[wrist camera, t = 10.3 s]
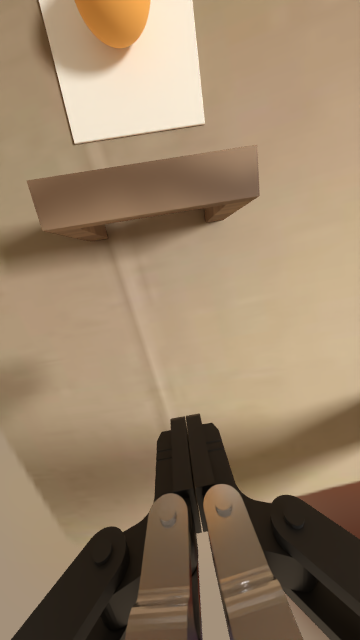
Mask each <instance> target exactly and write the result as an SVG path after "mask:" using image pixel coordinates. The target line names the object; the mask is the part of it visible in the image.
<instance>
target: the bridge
mask: <svg viewBox="0 0 360 640" xmlns="http://www.w3.org/2000/svg"><path fill="white" fill-rule="evenodd" d="M27 184H28V187H29V190H30V193H31V196H32V199H33V202H34V206H35V209H36V212H37V215H38V218H39V221H40V225H41V228H42V231H46V232H50V233H55V234H59V235H64V236H68V237H73V238H77V239H82V240H86V241H95V240H102V239H108V236H107V231H106V227H105V224H109V223H115V222H121V221H128V220H134V219H140V218H146V217H152V216H159V215H165V214H171V213H177V212H183V211H190V210H196V209H202V208H204V212H205V221H206V222H212V221H218V220H224V219H225V218H227V217H228V216H230V215H231V214H233V213H234V212H236V211H237V210H239V209H240V208H242V207H243V206H245V205H246V204H248V203H249V202H251V201H252V200H254V199H256V198H257V197H259V196H260V195H259V173H258V152H257V145H252V146H245V147H239V148H233V149H226V150H220V151H213V152H207V153H201V154H194V155H188V156H181V157H175V158H169V159H162V160H156V161H149V162H143V163H137V164H130V165H124V166H117V167H111V168H105V169H98V170H92V171H86V172H79V173H73V174H66V175H60V176H54V177H47V178H41V179H34V180H28V181H27Z"/></svg>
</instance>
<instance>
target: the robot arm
mask: <svg viewBox="0 0 360 640" xmlns="http://www.w3.org/2000/svg"><path fill="white" fill-rule="evenodd" d="M186 422H187V426H186ZM187 429H188V431H187ZM156 461H157V462H156V479H155V498H154V503H153V505H152V507H151V509H150V511H149V513H148V514H147V516H146V517H145V518H144V519H143V520H142V521H141V522H139V523H138V524H136V525H134V526H133V527H131V528H129V529H128V530H126V531H124V532H122V531H121V530H120V529H119V528H117V527H107V528H104V529H102V530H100V531H99V532H97V533H96V534H95V535H94V536H93V537H92V538H91V540H90V541H89V542H88V543H87V545H86V546H85V547H84V548H83V550H82V551H81V552H80V553H79V555H78V556H77V557H76V559H75V560H74V561H73V562H72V564H71V565H70V566H69V567H68V569H67V570H66V571H65V572H64V574H63V575H62V576H61V577H60V579H59V580H58V581H57V583H56V584H55V585H54V586H53V587H52V589H51V590H50V591H49V593H48V594H47V595H46V596H45V598H44V599H43V600H42V601H41V603H40V604H39V605H38V607H37V608H36V609H35V610H34V611H33V613H32V614H31V615H30V616H29V618H28V619H27V620H26V622H25V623H24V624H23V625H22V627H21V628H20V629H19V630H18V632H17V633H16V634H15V635H14V637H13V638H12V639H11V640H203V638H202V619H201V602H200V583H199V563H198V547H197V538H196V533H201V532H202V531H201V524H200V517H201V522H202V526H203V531H204V532H206V531H208V535H209V541H210V546H211V552H212V557H213V563H214V567H215V572H216V577H217V581H218V586H219V590H220V595H221V600H222V604H223V609H224V614H225V618H226V623H227V627H228V632H229V637H230V640H303V637H302V635H301V632H300V630H299V627H298V625H297V623H296V620H295V618H294V615H293V613H292V610H291V608H290V605H289V603H288V601H287V598H286V596H285V594H284V592H285V593H286V594H287V595H288V596H289V597H290V598H291V600H292V601H293V602H295V604H296V605H297V606H298V607H299V608H300V609H301V610H302V611H303V612H304V613H305V614H306V615H307V616H308V617H309V618H310V619H311V620H312V621H313V622H314V623H315V624H316V625H317V626H318V627H319V628H320V629H321V630H322V631H323V633H324V634H326V635H327V637H328V638H329V639H330V640H360V539H358V538H357V537H355V536H354V535H352V534H351V533H350V532H348V531H347V530H345V529H344V528H342V527H341V526H339V525H338V524H336V523H335V522H333V521H332V520H330V519H329V518H327V517H326V516H324V515H323V514H322V513H320V512H319V511H317V510H316V509H314V508H313V507H311V506H310V505H308V504H307V503H305V502H304V501H302V500H301V499H299V498H297V497H295V496H291V495H281V496H279V497H277V498H275V499H274V501H273V502H272V504H271V503H266V502H261V501H256V500H253V499H250V498H248V497H247V496H245V495H244V494H243V493H242V492H241V491H240V490H239V489H238V487H237V486H236V484H235V481H234V478H233V475H232V472H231V468H230V465H229V462H228V459H227V455H226V452H225V450H224V446H223V443H222V439H221V436H220V433H219V430H218V429H217V428H216V427H215V426H214V424H213V423H208V424H202V422H201V417H200V414H194V415H189V416H186V420H185V416H184V417H178V418H172V419H171V430H169V431H164V432H161V434H160V436H159V438H158V441H157V456H156ZM198 506H199V508H198ZM199 511H200V516H199Z"/></svg>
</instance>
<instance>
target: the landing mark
mask: <svg viewBox="0 0 360 640" xmlns="http://www.w3.org/2000/svg"><path fill="white" fill-rule="evenodd" d="M39 3H40V7H41V11H42V15H43V19H44V23H45V27H46V31H47V35H48V39H49V43H50V47H51V51H52V55H53V59H54V63H55V67H56V71H57V75H58V79H59V83H60V87H61V91H62V95H63V99H64V103H65V107H66V111H67V115H68V119H69V123H70V127H71V131H72V135H73V139H74V143H75V144H81V143H87V142H94V141H100V140H107V139H113V138H120V137H126V136H133V135H139V134H146V133H152V132H159V131H165V130H172V129H178V128H185V127H191V126H198V125H204V124H205V120H204V110H203V100H202V91H201V81H200V71H199V61H198V52H197V42H196V32H195V22H194V13H193V3H192V0H151V2H150V10H149V15H148V19H147V22H146V26H145V28H144V30H143V32H142V34H141V35H140V37H139V38H138V39H137V41H136V42H134V43H133V44H132V45H130V46H128V47H126V48H113V47H110V46H108V45H106V44H104V43H103V42H102V41H100V40H99V39H98V38H97V37H96V36H95V35H94V34H93V33H92V32H91V30H90V29H89V28H88V27H87V25H86V23H85V22H84V20H83V18H82V17H81V15H80V13H79V11H78V8H77V6H76V3H75V1H74V0H39Z"/></svg>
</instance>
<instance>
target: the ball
mask: <svg viewBox="0 0 360 640" xmlns="http://www.w3.org/2000/svg"><path fill="white" fill-rule="evenodd" d="M74 1H75V3H76V6H77V8H78V11H79V13H80V15H81V17H82V18H83V20H84V22H85V23H86V25H87V27H88V28H89V29H90V30H91V32H92V33H93V34H94V35H95V36H96V37H97V38H98V39H99V40H100V41H102V42H103V43H104V44H106V45H108V46H110V47H113V48H126V47H128V46H130V45H132V44H133V43H134V42H136V41H137V39H138V38H139V37H140V35H141V34H142V32H143V30H144V28H145V26H146V22H147V19H148V15H149V10H150V2H151V0H74Z"/></svg>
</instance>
